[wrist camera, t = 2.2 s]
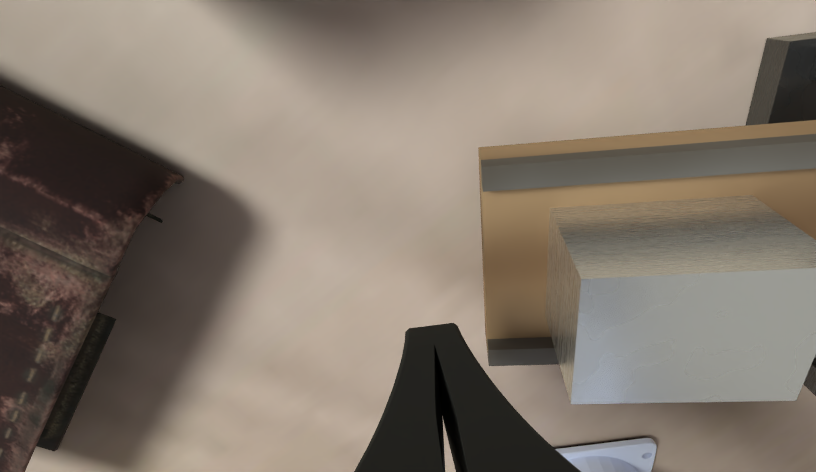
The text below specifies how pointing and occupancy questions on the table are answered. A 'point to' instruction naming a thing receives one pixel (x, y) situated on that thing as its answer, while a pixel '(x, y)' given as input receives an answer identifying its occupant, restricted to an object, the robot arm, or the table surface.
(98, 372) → the table surface
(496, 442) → the robot arm
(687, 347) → the block
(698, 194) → the beam
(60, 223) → the diary
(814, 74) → the stand
